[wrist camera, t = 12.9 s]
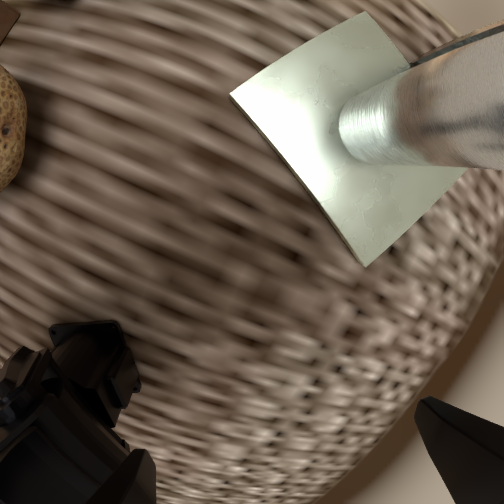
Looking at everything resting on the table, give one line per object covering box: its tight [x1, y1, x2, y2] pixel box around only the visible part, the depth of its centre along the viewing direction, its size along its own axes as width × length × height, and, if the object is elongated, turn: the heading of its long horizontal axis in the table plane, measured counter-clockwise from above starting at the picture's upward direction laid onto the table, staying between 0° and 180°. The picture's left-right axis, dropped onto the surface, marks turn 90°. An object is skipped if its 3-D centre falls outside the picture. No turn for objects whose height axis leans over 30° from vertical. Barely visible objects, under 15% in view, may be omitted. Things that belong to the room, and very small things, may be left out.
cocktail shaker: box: [339, 32, 504, 170], centre depth 10 cm, size 5×5×14 cm
